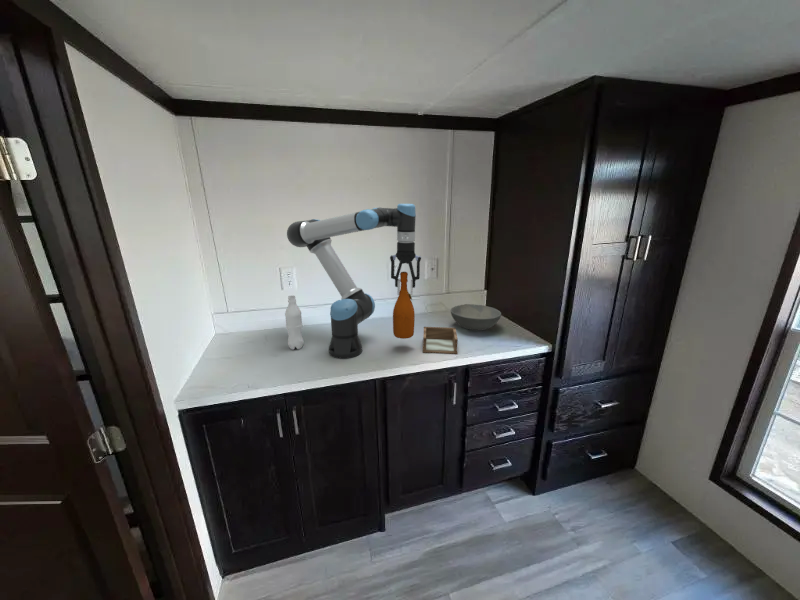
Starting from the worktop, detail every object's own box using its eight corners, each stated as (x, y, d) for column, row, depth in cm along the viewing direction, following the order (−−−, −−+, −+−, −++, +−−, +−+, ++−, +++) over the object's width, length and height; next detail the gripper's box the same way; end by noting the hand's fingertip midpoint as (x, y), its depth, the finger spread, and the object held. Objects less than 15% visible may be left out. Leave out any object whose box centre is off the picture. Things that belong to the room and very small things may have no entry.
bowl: (440, 328, 185) (441, 310, 182) (465, 315, 204) (466, 299, 201) (485, 341, 168) (486, 322, 165) (507, 326, 188) (509, 309, 185)
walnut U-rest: (457, 354, 155) (458, 340, 153) (422, 352, 157) (423, 339, 154) (454, 339, 171) (455, 327, 168) (423, 338, 172) (423, 325, 170)
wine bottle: (412, 340, 153) (413, 275, 144) (390, 338, 155) (390, 273, 146) (415, 332, 162) (416, 269, 153) (395, 330, 164) (395, 268, 155)
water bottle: (299, 342, 166) (295, 293, 159) (307, 347, 161) (302, 296, 154) (285, 347, 161) (280, 296, 154) (293, 352, 157) (288, 299, 149)
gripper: (383, 242, 143) (383, 295, 150) (427, 243, 141) (425, 297, 148) (385, 239, 150) (385, 291, 157) (427, 240, 148) (425, 292, 155)
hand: (404, 294), depth 153 cm, fingers closed on wine bottle, 5 cm apart
